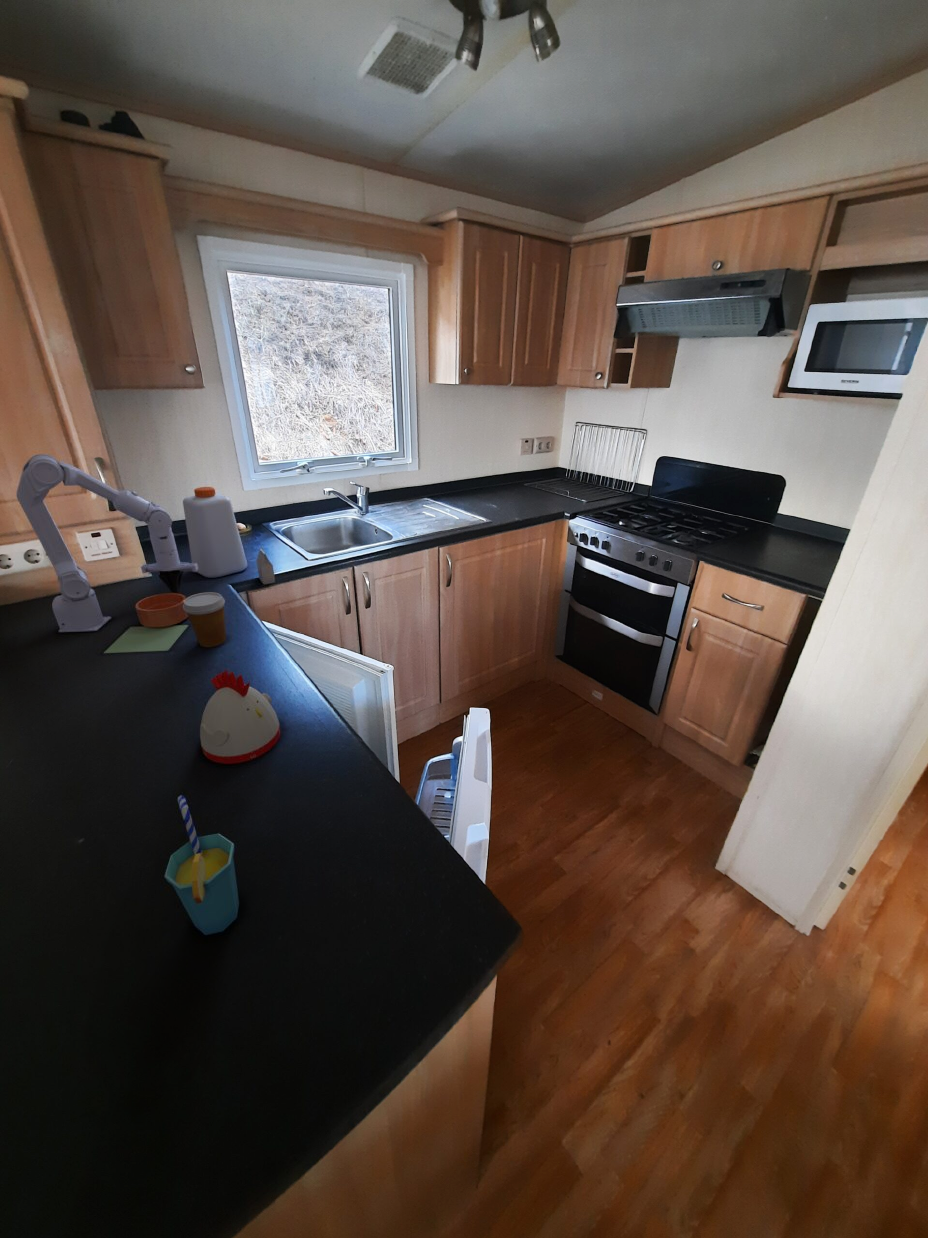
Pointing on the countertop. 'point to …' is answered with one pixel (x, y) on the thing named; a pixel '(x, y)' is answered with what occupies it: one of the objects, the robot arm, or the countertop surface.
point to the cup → (205, 878)
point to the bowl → (161, 610)
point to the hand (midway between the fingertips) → (176, 594)
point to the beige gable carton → (265, 568)
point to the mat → (147, 639)
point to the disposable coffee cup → (207, 617)
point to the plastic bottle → (213, 534)
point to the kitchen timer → (237, 722)
